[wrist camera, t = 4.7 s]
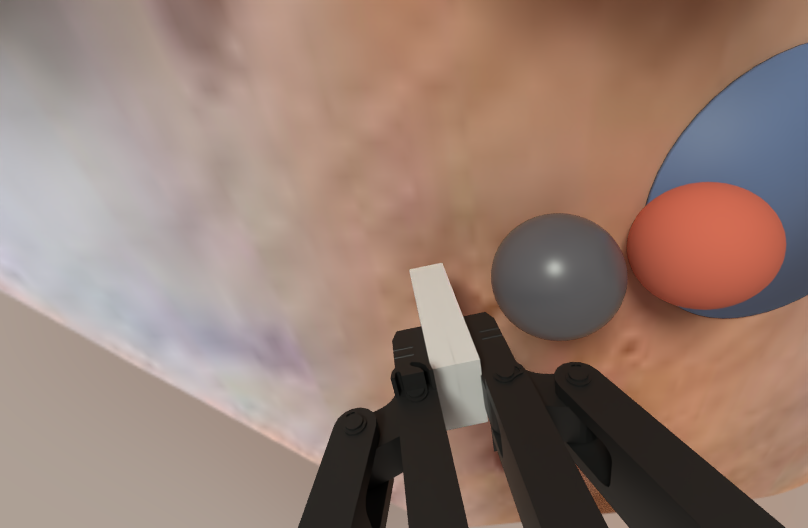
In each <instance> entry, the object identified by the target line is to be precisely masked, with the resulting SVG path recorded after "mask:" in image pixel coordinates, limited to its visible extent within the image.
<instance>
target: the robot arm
mask: <svg viewBox="0 0 808 528" xmlns="http://www.w3.org/2000/svg"><path fill="white" fill-rule="evenodd" d="M409 271H410V275H411V280H412V285H413V290H414V295H415V299H416V304H417V309H418V314H419V318H420V323H421V326H420V327H416V328H411V329H406V330H401V331H397V332H396V334H395V336H394V338H393V340H392V343H393V351H394V352H393V353H394V363H395V369H394V370H393V371H392V374H391V382H392V385H393V389H394V393H395V396H394V398H393V399H392V401H391V402H390V403H388V404H387V405H386V406H384V407H383V408H381V409H379V410H377V411H375V412H372V411H370V410H369V409H366V408H355V409H351V410H349V411H347V412H345V413H344V414H343V415H341V416H340V417H339V418H338V420H337V421H336V423H335V425H334V427H333V430H332V433H331V436H330V439H329V442H328V444H327V447H326V450H325V453H324V456H323V458H322V461H321V464H320V467H319V470H318V473H317V475H316V479H315V481H314V484H313V487H312V490H311V492H310V495H309V498H308V501H307V504H306V507H305V510H304V513H303V515H302V518H301V521H300V523H299V526H298V528H386V522H387V517H388V511H389V505H390V500H391V494H392V488H393V482H394V477H395V476H397V475H399V474H401V473H403V474H404V484H405V494H406V505H407V515H408V525H409V528H469V527H468V523H467V519H466V514H465V510H464V505H463V501H462V497H461V492H460V488H459V484H458V479H457V475H456V470H455V466H454V462H453V457H452V453H451V448H450V444H449V440H448V435H447V431H446V430H451V429H456V428H461V427H466V426H470V425H475V424H480V423H485V422H488V418H489V421H490V424H491V430H492V438H493V446H494V452H495V451H498V454H499V457H500V460H501V463H502V466H503V469H504V472H505V475H506V478H507V481H508V484H509V487H510V490H511V492H512V495H513V498H514V501H515V504H516V507H517V510H518V513H519V516H520V519H521V522H522V525H523V528H608V526H607V524H606V522H605V520H604V518H603V516H602V514H601V513H600V511H599V509H598V507H597V505H596V503H595V501H594V499H593V497H592V495H591V493H590V492H589V490H588V488H587V486H586V484H585V482H584V480H583V478H582V476H581V474H580V472H579V470H578V469H577V467H576V465H577V466H578V467H579V468H580V470H581V471H582V472H583V473H584V474H585V476H586V477H587V478H588V479H589V480H590V482H591V483H592V484H593V485H594V486H595V487H596V489H597V490H598V491H599V492H600V493H601V495H602V496H603V497H604V498H605V499H606V501H607V502H608V503H609V504H610V505H611V507H612V508H613V509H614V510H615V511H616V512H617V514H618V515H619V516H620V517H621V518H622V520H623V521H624V522H625V523H626V524H627V525H628V527H629V528H785V527H784V526H783V525H782V524H781V523H779V522H778V521H777V520H776V519H775V518H773V517H772V516H771V515H770V514H769V513H767V512H766V511H765V510H764V509H763V508H761V507H760V506H759V505H758V504H757V503H755V502H754V501H753V500H752V499H751V498H750V497H748V496H747V495H746V494H745V493H744V492H742V491H741V490H740V489H739V488H738V487H736V486H735V485H734V484H733V483H732V482H730V481H729V480H728V479H727V478H726V477H724V476H723V475H722V474H721V473H720V472H718V471H717V470H716V469H715V468H714V467H712V466H711V465H710V464H709V463H708V462H707V461H705V460H704V459H703V458H702V457H701V456H699V455H698V454H697V453H696V452H695V451H693V450H692V449H691V448H690V447H689V446H687V445H686V444H685V443H684V442H683V441H681V440H680V439H679V438H678V437H677V436H675V435H674V434H673V433H672V432H671V431H669V430H668V429H667V428H666V427H665V426H664V425H662V424H661V423H660V422H659V421H658V420H656V419H655V418H654V417H653V416H652V415H650V414H649V413H648V412H647V411H646V410H644V409H643V408H642V407H641V406H640V405H638V404H637V403H636V402H635V401H634V400H632V399H631V398H630V397H629V396H628V395H626V394H625V393H624V392H623V391H622V390H621V389H619V388H618V387H617V386H616V385H615V384H613V383H612V382H611V381H610V380H609V379H607V378H606V377H605V376H604V375H603V374H601V373H600V372H599V371H598V370H597V369H595V368H593V367H592V366H590V365H588V364H584V363H581V362H569V363H565V364H562V365H561V366H559V367H558V368H557V370H556V371H555V373H554V374H540V373H534V372H530V371H527V370H525V368H524V367H523V366H522V365H520V364H518V363H517V362H516V360H515V358H514V356H513V355H512V353H511V351H510V349H509V347H508V345H507V343H506V341H505V339H504V337H503V336H502V333H501V331H500V329H499V327H498V325H497V323H496V321H495V319H494V318H493V317H491V316H490V315H489V314H487V313H486V312H483V313H478V314H473V315H468V316H464V317H463V315H462V312H461V310H460V307H459V305H458V302H457V300H456V297H455V295H454V292H453V289H452V287H451V284H450V282H449V279H448V277H447V274H446V272H445V269H444V266H443V264H442V263H438V264H434V265H429V266H424V267H419V268H415V269H410V270H409ZM487 415H488V417H487ZM575 464H576V465H575Z"/></svg>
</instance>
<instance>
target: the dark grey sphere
mask: <svg viewBox="0 0 808 528" xmlns="http://www.w3.org/2000/svg"><path fill="white" fill-rule="evenodd" d="M627 280H628V279H627V267H626V262H625V259H624V256H623V253H622V252H621V250H620V248H619V246H618V245H617V243H616V242H615V240H614V239H613V238H612V237H611V236H610V234H609V233H608V232H607V231H605V230H604V229H603V228H602V227H600V226H599V225H597V224H595V223H594V222H592V221H590V220H588V219H585V218H583V217H579V216H576V215H571V214H563V213H554V214H546V215H541V216H538V217H534V218H532V219H530V220H527V221H525V222H524V223H522V224H520V225H519V226H517V227H516V228H515V229H513V230H512V231H511V232H510V233H509V234H508V235H507V236H506V238H505V239H504V240H503V241H502V243H501V244H500V246H499V248H498V250H497V252H496V254H495V257H494V260H493V264H492V270H491V283H492V289H493V293H494V296H495V299H496V301H497V303H498V305H499V307H500V309H501V310H502V312H503V313H504V314H505V316H506V317H507V318H508V319H509V320H510V321H511V322H512V323H513V324H514V325H516V326H517V327H518V328H520V329H521V330H523V331H525V332H526V333H528V334H531V335H533V336H535V337H538V338H542V339H546V340H553V341H568V340H573V339H579V338H582V337H585V336H587V335H589V334H592V333H594V332H596V331H597V330H599V329H600V328H602V327H603V326H604V325H605V324H606V323H608V322H609V321H610V320H611V319H612V318H613V316H614V315H615V314H616V312H617V311H618V309H619V308H620V306H621V304H622V302H623V299H624V296H625V293H626V289H627Z"/></svg>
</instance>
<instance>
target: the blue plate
mask: <svg viewBox="0 0 808 528" xmlns="http://www.w3.org/2000/svg"><path fill="white" fill-rule="evenodd" d="M699 182H719V183H727V184H731V185H735V186H738V187H741V188H744V189H746V190H749V191H750V192H752V193H754V194H756V195H757V196H759V197H760V198H762V199H763V200H764V201H765V202H767V203H768V204H769V205H770V207H771V208H772V209H773V210H774V211H775V212H776V214H777V215H778V217H779V219H780V220H781V222H782V225H783V228H784V231H785V236H786V252H785V257H784V261H783V264H782V266H781V268H780V270H779V272H778V273H777V275H776V276H775V278H774V279H773V280H772V282H771V283H770V284H769V285H768V286H767V287H765V288H764V289H763V290H762V291H761V292H759V293H758V294H757V295H755V296H753V297H751V298H750V299H748V300H746V301H744V302H741V303H739V304H736V305H733V306H729V307H725V308H720V309H710V310H699V309H690V308H684V307H680V306H678V307H680V308H682V309H683V310H686V311H688V312H691V313H694V314H696V315H701V316H706V317H713V318H739V317H745V316H751V315H756V314H760V313H764V312H768V311H771V310H774V309H777V308H779V307H782V306H785V305H787V304H790V303H792V302H794V301H796V300H798V299H800V298H803V297H804V296H806V295H808V43H806V44H802V45H799V46H796V47H794V48H791V49H789V50H787V51H784V52H782V53H779V54H777V55H775V56H773V57H771V58H770V59H768V60H766V61H764V62H762V63H760V64H759V65H757V66H755V67H753V68H752V69H751V70H749V71H748V72H746V73H745V74H743V75H742V76H740V77H739V78H738V79H736V80H735V81H733V82H732V83H731V84H730V85H728V86H727V87H726V88H725V89H724V90H723V91H721V92H720V93H719V94H718V95H717V96H715V97H714V98H713V99H712V100H711V101H710V102H709V103H708V104H707V105H706V106H705V107H704V108H703V109H702V110H701V111H700V112H699V113H698V114H697V115H696V117H695V118H694V119H693V120H692V121H691V123H690V124H689V125H688V126H687V128H686V129H685V130H684V131H683V132H682V134H681V135H680V136H679V138H678V139H677V141H676V142H675V144H674V145H673V147H672V148H671V150H670V151H669V153H668V154H667V156H666V158H665V160H664V162H663V164H662V165H661V167H660V169H659V171H658V173H657V175H656V178H655V180H654V182H653V185H652V187H651V190H650V192H649V196H648V199H647V203H646V205H647V204H648V203H649V202H651V201H652V200H653V199H655V198H656V197H658V196H659V195H661V194H663V193H664V192H666V191H669V190H671V189H673V188H676V187H679V186H683V185H686V184H691V183H699Z"/></svg>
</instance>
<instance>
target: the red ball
mask: <svg viewBox="0 0 808 528" xmlns="http://www.w3.org/2000/svg"><path fill="white" fill-rule="evenodd" d="M785 252H786V236H785V231H784V228H783V225H782V222H781V220H780V219H779V217H778V215H777V214H776V212H775V211H774V210H773V209H772V208H771V207H770V205H769V204H768V203H767V202H765V201H764V200H763V199H762V198H760V197H759V196H757V195H756V194H754V193H752V192H750V191H749V190H746V189H744V188H741V187H738V186H735V185H731V184H727V183H719V182H699V183H691V184H686V185H683V186H679V187H676V188H673V189H671V190H669V191H666V192H664V193H663V194H661V195H659V196H658V197H656V198H655V199H653V200H652V201H651V202H649V203H648V204H647V205H646V206H645V207H644V208H643V209H642V210H641V212H640V213H639V214H638V215H637V217H636V219H635V220H634V222H633V224H632V226H631V229H630V231H629V235H628V240H627V255H628V259H629V263H630V266H631V268H632V271H633V273H634V274H635V276H636V277H637V279H638V280H639V282H640V283H641V284H642V285H643V286H644V287H645V288H646V289H647V290H648V291H650V292H651V293H652V294H653V295H655V296H657V297H658V298H660V299H662V300H664V301H666V302H668V303H671V304H673V305H677V306H680V307H684V308H690V309H699V310H710V309H720V308H725V307H729V306H733V305H736V304H739V303H741V302H744V301H746V300H748V299H750V298H751V297H753V296H755V295H757V294H758V293H759V292H761V291H762V290H763V289H764V288H765V287H767V286H768V285H769V284H770V283H771V282H772V280H773V279H774V278H775V276H776V275H777V273H778V272H779V270H780V268H781V266H782V264H783V261H784V257H785Z"/></svg>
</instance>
